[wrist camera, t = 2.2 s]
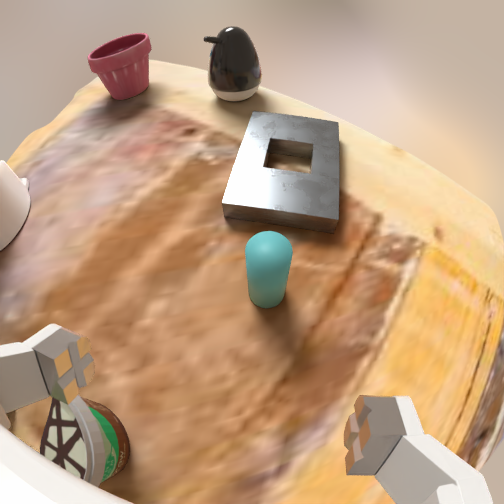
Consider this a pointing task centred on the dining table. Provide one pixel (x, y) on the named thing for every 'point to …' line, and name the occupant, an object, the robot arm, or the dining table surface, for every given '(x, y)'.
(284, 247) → the teal peg
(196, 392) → the dining table surface
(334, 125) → the socket plate
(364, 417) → the robot arm
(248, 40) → the pump dispenser
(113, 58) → the plant pot
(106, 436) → the food container
